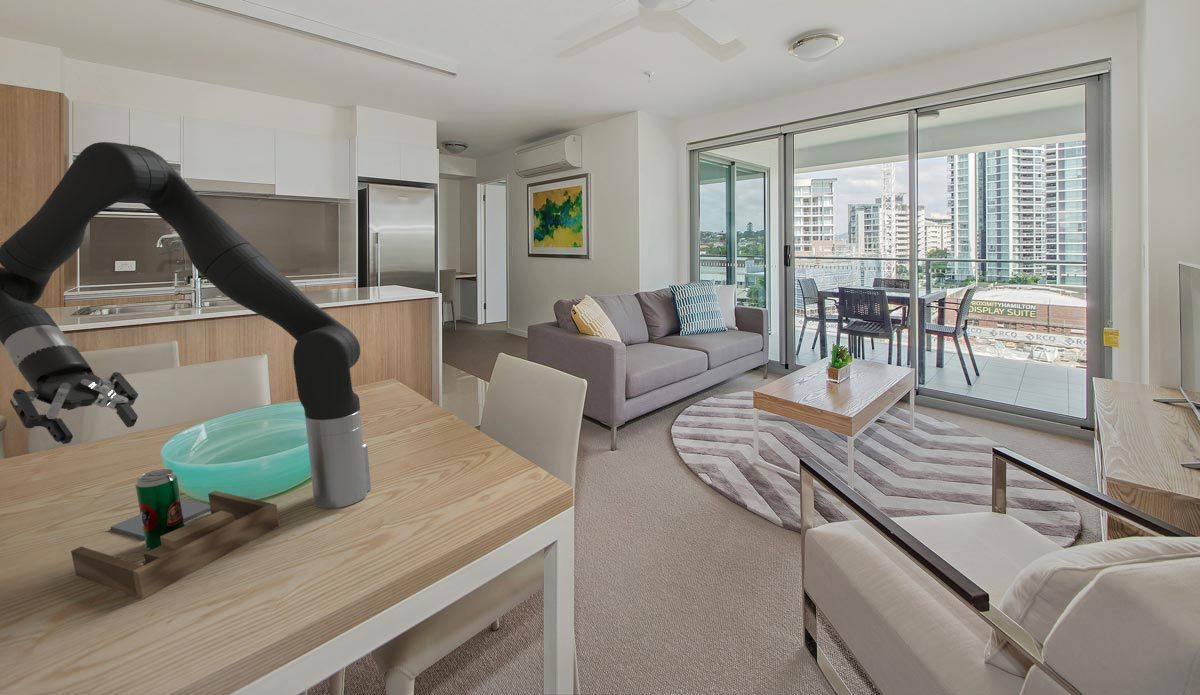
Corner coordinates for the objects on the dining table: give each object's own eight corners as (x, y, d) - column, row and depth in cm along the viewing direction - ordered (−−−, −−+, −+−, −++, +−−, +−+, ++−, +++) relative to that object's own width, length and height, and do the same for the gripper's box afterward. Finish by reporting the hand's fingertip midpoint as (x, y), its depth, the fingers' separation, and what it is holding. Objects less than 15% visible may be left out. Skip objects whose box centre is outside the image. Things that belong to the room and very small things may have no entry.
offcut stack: (223, 529, 88) (220, 507, 87) (243, 534, 87) (239, 511, 86) (142, 569, 77) (137, 544, 76) (162, 576, 76) (158, 550, 75)
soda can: (179, 548, 83) (168, 478, 81) (140, 554, 81) (127, 483, 79) (191, 532, 87) (180, 466, 85) (154, 538, 86) (142, 470, 83)
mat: (181, 500, 98) (180, 498, 98) (213, 508, 95) (213, 505, 95) (111, 529, 88) (110, 526, 88) (145, 539, 85) (144, 536, 85)
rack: (217, 511, 95) (215, 490, 94) (278, 525, 90) (276, 504, 89) (75, 575, 76) (70, 550, 75) (143, 599, 71) (138, 572, 70)
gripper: (-7, 351, 79) (51, 432, 77) (107, 337, 92) (159, 406, 90) (-19, 382, 81) (37, 461, 80) (94, 364, 95) (144, 431, 93)
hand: (102, 432), depth 85 cm, fingers open, 8 cm apart
